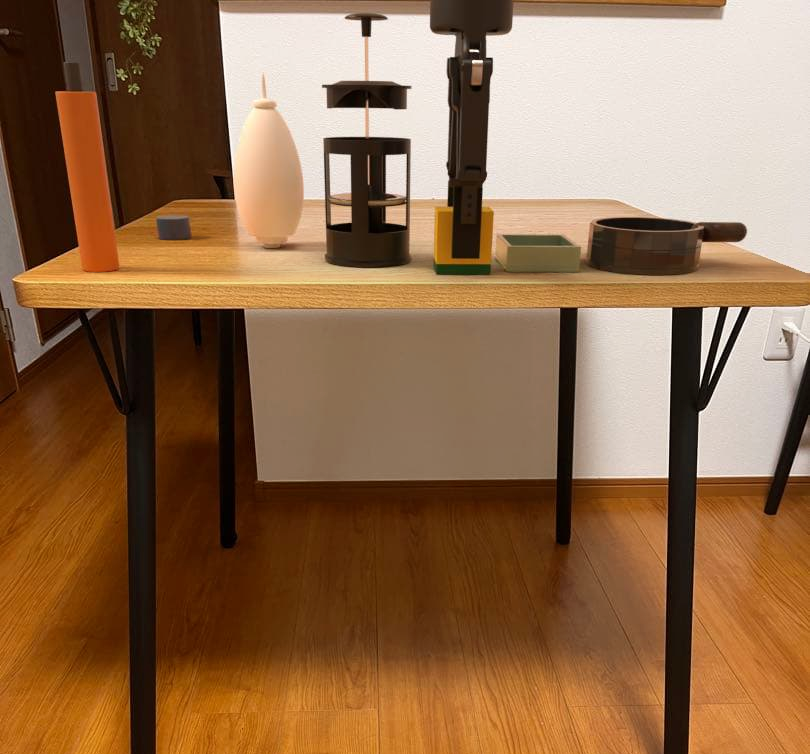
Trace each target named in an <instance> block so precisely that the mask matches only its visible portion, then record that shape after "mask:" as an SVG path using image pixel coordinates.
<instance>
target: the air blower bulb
mask: <svg viewBox="0 0 810 754" xmlns="http://www.w3.org/2000/svg"><path fill="white" fill-rule="evenodd" d="M260 78H261V81H260V82H261V98H257V99H254V100H253V101H252V104H251V105H252V107H253V109H251V111H250V112H249V114H248V115H247V118H246V119H245V121H244V124H243V126H242V128H241V129H242V130H241V131H240V135H239V139H238V141H237V142H238V143H237V146H236V151H235V156H234V164H233V165H234V166H233V192H234V193H233V194H234V200H235V206H236V209H237V213H238V215H239V218H240V221H241V223H242V225H243V227H244V228H245V230H246V232H247V234H248V235H249V236H251V237H255V240H256V243H257V244H261V245H264V246H263V247H264V248H267V249H278V248H281V245H282V244H286V243H288V237H289V236H290V237H291V236H293V235H295V233H296V231H297V229H298V226H299V224H300V222H301V218H302V214H303V208H304V198H305V190H304V189H305V186H304V177H303V170H302V163H301V159H300V156H299V152H298V149H297V146H296V143H295V140H294V137H293V135H292V133H291V131H290V129H289V126H288V124H287V123H286V121H285V119H284V118H283V116H282V115H281V113H280V112H279V111H278V109H276V108H277V101H275V100H274V99H269V98H267V88H266V87H267V86H266V79H265V74H264V72H261V77H260Z"/></svg>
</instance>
